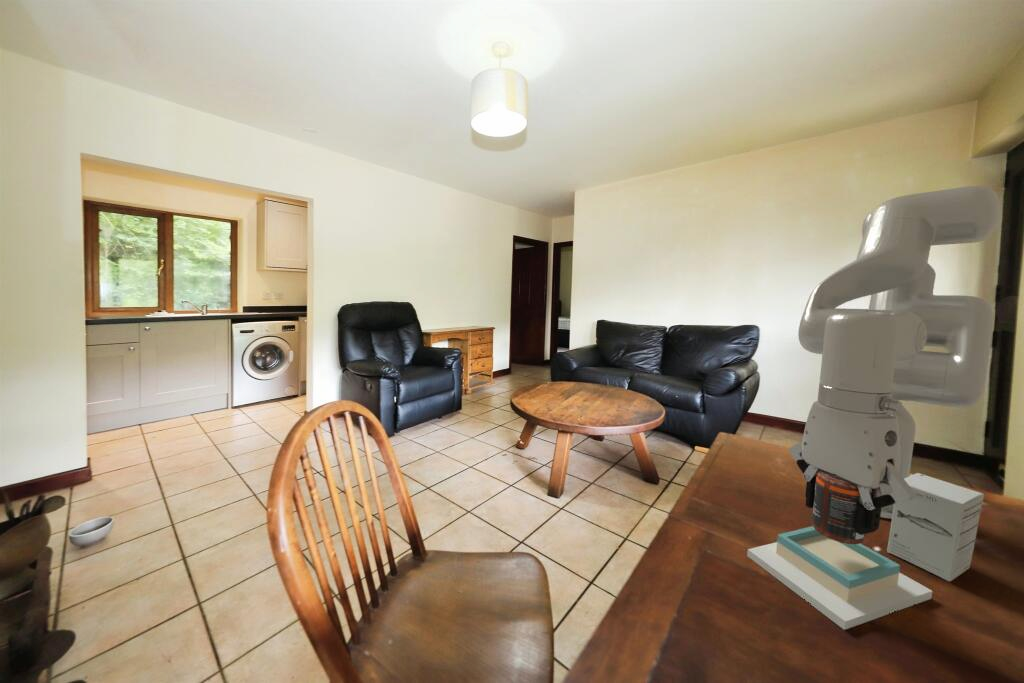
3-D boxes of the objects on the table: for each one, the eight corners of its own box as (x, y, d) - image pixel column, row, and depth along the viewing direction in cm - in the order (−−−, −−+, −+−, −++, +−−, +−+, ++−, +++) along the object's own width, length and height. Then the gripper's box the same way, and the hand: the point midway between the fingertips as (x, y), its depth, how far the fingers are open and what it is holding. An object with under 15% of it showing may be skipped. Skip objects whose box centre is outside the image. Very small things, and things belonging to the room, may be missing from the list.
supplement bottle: (875, 549, 52) (885, 472, 50) (826, 543, 53) (834, 468, 52) (846, 523, 58) (854, 454, 56) (802, 519, 59) (809, 450, 57)
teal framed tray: (823, 536, 65) (825, 513, 65) (931, 598, 52) (935, 569, 51) (747, 556, 61) (749, 531, 60) (844, 629, 47) (848, 598, 47)
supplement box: (884, 552, 61) (894, 479, 60) (907, 540, 64) (917, 471, 63) (950, 584, 55) (963, 503, 53) (972, 569, 57) (985, 492, 56)
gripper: (954, 416, 46) (934, 551, 48) (808, 384, 62) (798, 486, 64) (914, 421, 44) (894, 563, 46) (774, 387, 60) (764, 492, 62)
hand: (838, 517), depth 55 cm, fingers closed on supplement bottle, 5 cm apart
